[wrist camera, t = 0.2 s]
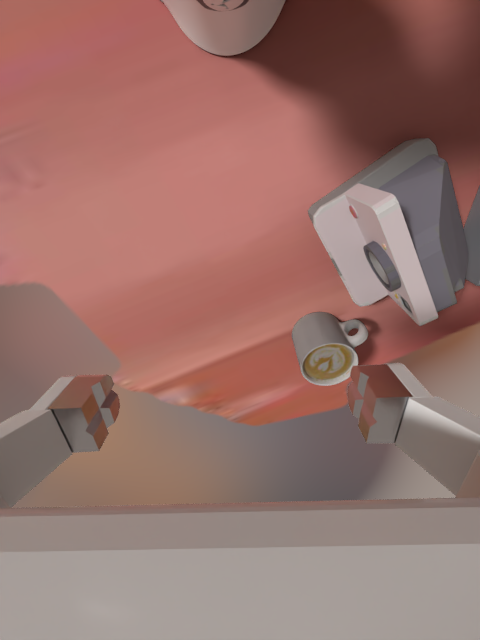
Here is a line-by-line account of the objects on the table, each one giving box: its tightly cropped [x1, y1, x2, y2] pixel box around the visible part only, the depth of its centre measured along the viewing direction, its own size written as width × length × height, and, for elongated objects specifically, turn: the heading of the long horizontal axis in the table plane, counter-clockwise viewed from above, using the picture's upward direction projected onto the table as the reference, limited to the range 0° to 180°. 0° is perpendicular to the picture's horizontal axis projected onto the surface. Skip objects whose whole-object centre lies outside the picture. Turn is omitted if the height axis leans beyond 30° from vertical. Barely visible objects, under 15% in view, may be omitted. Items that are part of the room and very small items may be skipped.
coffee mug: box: [292, 312, 368, 386], centre depth 51 cm, size 13×10×10 cm
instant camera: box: [308, 138, 468, 326], centre depth 38 cm, size 21×21×15 cm
